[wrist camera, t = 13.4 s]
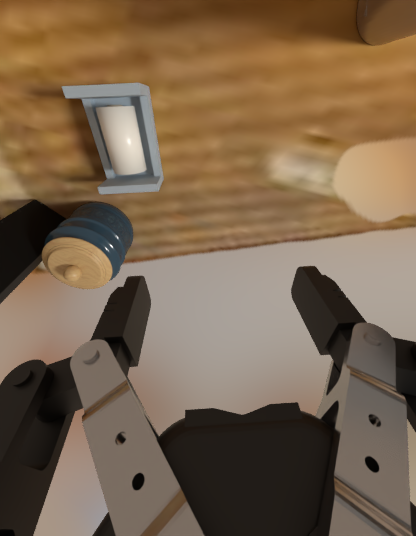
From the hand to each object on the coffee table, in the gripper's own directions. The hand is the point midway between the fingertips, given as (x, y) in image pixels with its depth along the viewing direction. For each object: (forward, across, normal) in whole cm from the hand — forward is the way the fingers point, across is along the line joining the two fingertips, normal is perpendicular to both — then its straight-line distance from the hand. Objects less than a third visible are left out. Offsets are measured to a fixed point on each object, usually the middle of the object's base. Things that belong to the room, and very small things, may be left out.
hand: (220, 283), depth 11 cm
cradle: (+36, +13, -3) cm, 38 cm away
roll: (+35, +14, -3) cm, 38 cm away
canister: (+36, +23, +14) cm, 45 cm away
